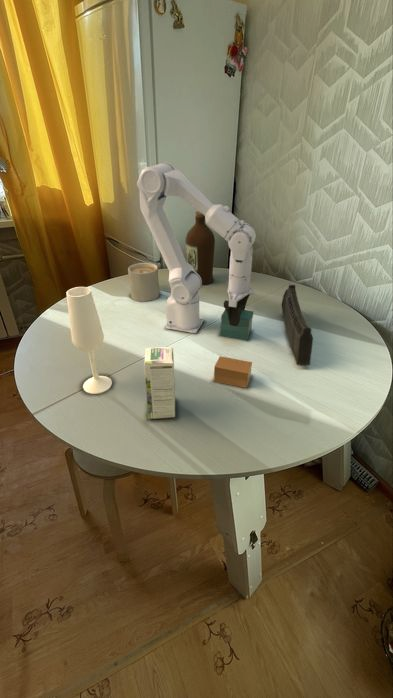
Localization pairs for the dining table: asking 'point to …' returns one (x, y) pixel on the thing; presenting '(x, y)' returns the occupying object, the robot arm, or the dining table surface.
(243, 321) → the dark teal flat block
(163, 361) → the syrup box
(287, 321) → the magazine
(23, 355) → the dining table surface
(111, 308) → the dining table surface
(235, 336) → the dark green block
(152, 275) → the coffee mug
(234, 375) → the orange brown block
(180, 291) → the robot arm
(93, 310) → the champagne flute
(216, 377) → the brown wooden block
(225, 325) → the dark green block
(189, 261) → the olive oil
